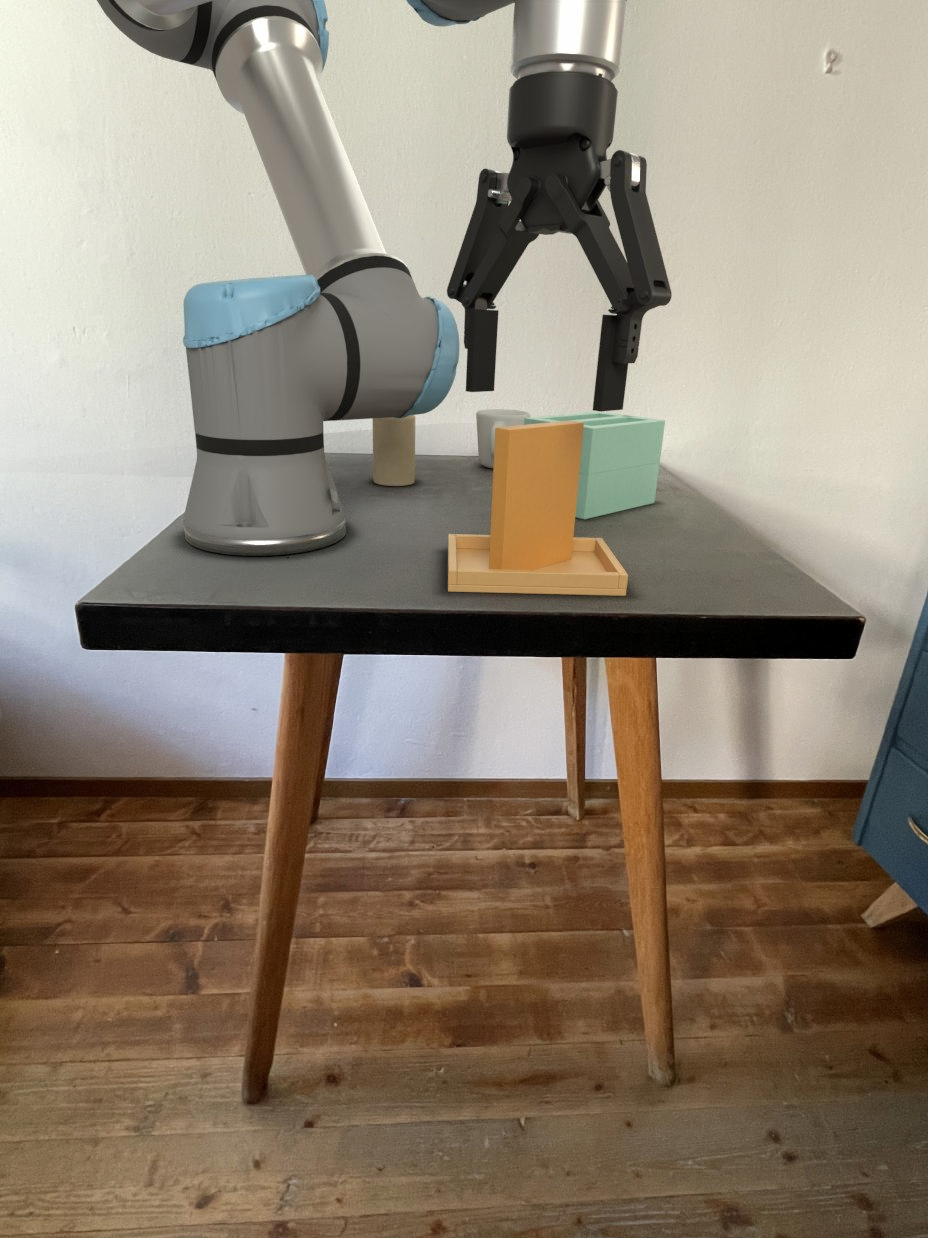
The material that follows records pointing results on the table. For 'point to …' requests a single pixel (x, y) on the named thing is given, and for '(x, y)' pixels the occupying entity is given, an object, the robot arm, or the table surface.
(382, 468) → the candle
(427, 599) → the table surface
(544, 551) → the orange rectangular panel
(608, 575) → the tray
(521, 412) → the cup
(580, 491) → the toaster
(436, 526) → the table surface
